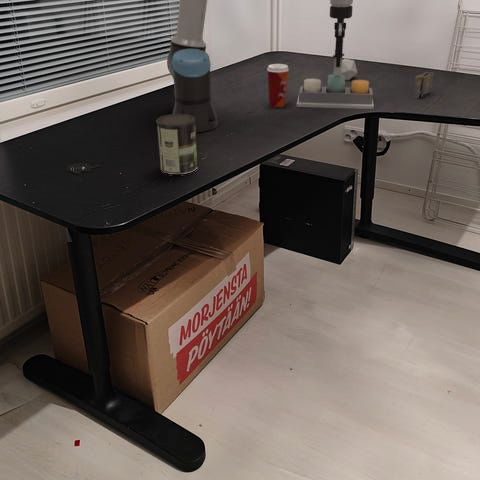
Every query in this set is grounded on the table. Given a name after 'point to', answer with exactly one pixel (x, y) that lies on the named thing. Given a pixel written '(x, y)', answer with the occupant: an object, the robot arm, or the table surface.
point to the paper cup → (277, 84)
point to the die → (348, 68)
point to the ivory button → (312, 85)
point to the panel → (335, 99)
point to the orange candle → (360, 86)
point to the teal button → (336, 84)
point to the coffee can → (177, 143)
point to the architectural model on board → (422, 83)
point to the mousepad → (81, 168)
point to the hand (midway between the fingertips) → (337, 75)
